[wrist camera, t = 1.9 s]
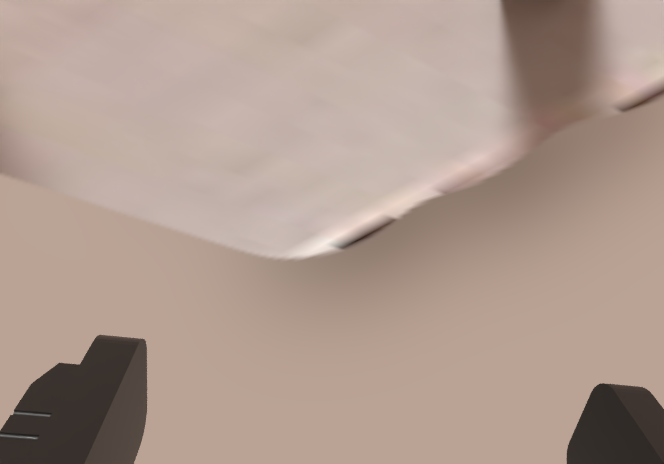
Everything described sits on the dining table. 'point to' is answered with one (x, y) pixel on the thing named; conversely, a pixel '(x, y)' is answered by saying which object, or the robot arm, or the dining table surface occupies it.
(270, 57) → the dining table surface
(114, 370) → the robot arm
